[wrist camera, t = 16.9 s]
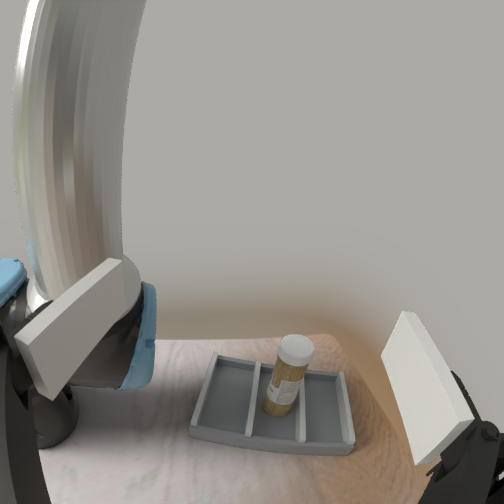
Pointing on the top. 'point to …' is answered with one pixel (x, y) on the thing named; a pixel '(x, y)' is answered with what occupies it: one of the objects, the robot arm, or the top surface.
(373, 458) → the top surface
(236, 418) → the tray
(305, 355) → the spice jar
